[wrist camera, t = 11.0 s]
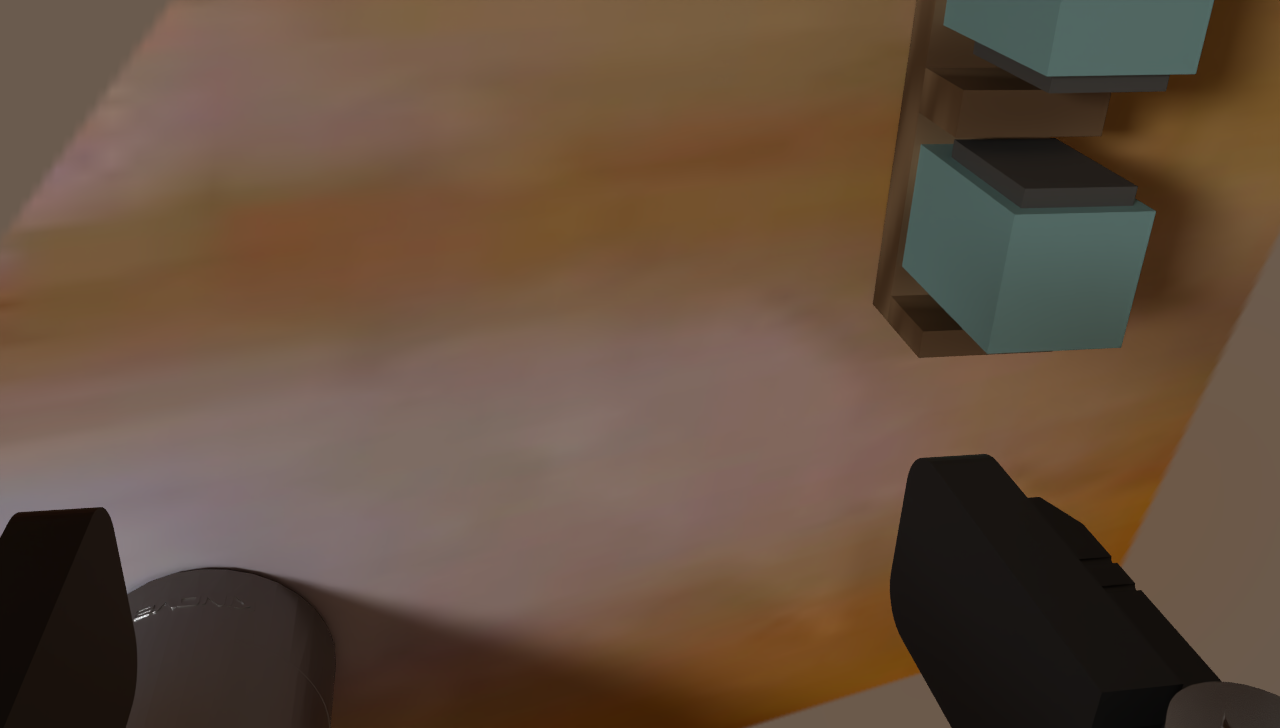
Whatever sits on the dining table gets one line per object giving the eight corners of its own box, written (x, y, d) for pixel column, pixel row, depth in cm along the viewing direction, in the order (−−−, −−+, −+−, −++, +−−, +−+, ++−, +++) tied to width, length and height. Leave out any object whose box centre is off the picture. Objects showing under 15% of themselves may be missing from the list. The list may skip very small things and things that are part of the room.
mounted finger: (1018, 262, 42) (1120, 347, 36) (902, 266, 41) (986, 353, 35) (1045, 125, 40) (1161, 191, 34) (923, 126, 39) (1018, 194, 33)
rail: (995, 299, 45) (1052, 351, 41) (872, 304, 44) (918, 357, 40) (1092, -188, 37) (1173, -182, 33) (945, -195, 36) (1010, -189, 32)
